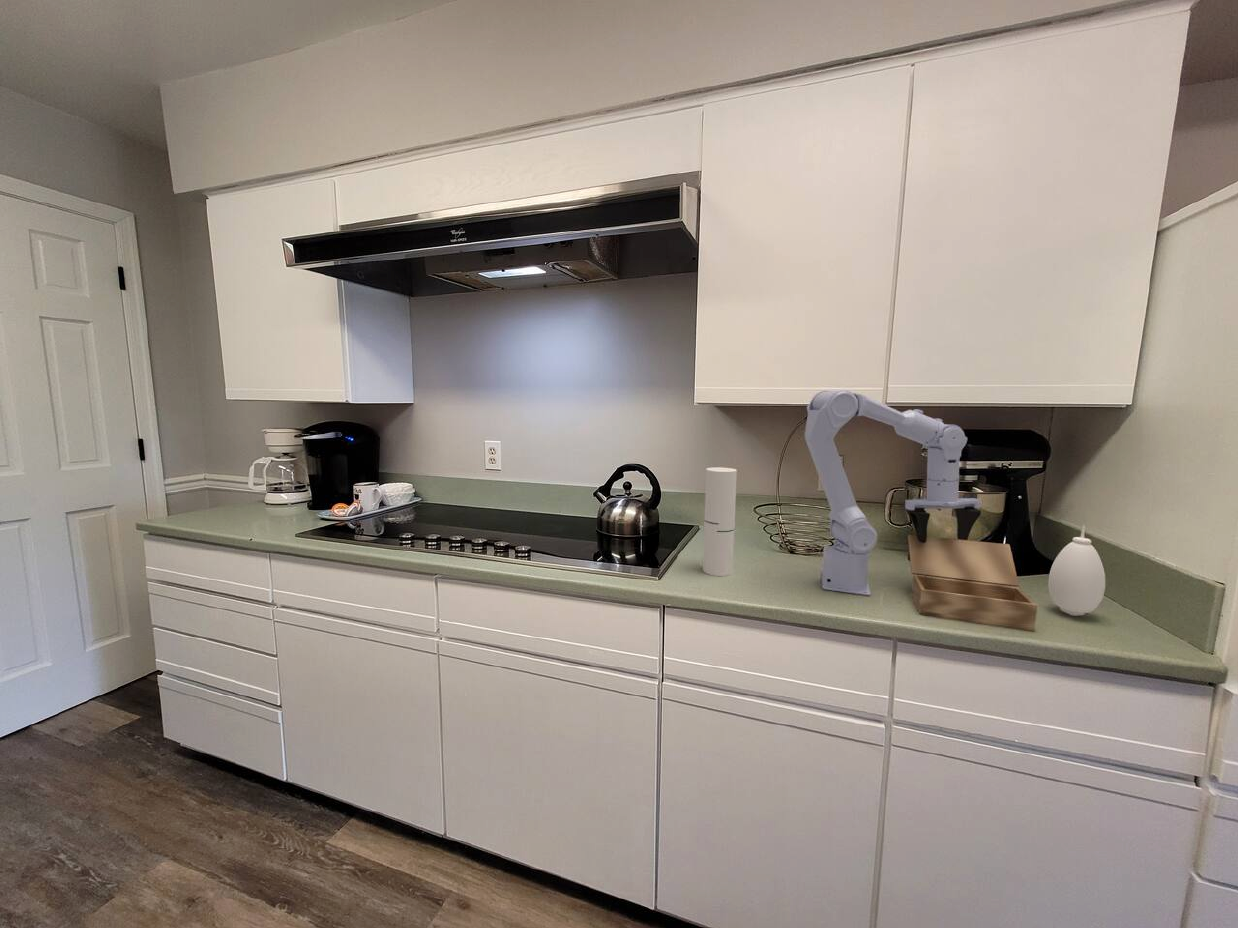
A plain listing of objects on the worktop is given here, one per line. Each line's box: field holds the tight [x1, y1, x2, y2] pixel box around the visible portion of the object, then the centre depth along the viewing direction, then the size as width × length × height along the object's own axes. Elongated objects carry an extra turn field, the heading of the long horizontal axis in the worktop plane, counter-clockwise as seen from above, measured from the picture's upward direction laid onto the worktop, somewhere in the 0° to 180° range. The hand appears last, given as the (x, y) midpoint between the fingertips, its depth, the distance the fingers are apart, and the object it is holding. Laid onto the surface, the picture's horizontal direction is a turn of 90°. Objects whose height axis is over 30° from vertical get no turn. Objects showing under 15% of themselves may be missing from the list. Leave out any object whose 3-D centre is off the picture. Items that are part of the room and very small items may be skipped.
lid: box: [907, 534, 1020, 588], centre depth 102 cm, size 18×10×1 cm
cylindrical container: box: [702, 467, 738, 577], centre depth 116 cm, size 7×7×25 cm
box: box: [910, 574, 1038, 632], centre depth 95 cm, size 18×9×5 cm, turn 68°
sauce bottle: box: [1047, 524, 1106, 617], centre depth 94 cm, size 8×8×18 cm
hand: (941, 541), depth 106 cm, fingers open, 7 cm apart
